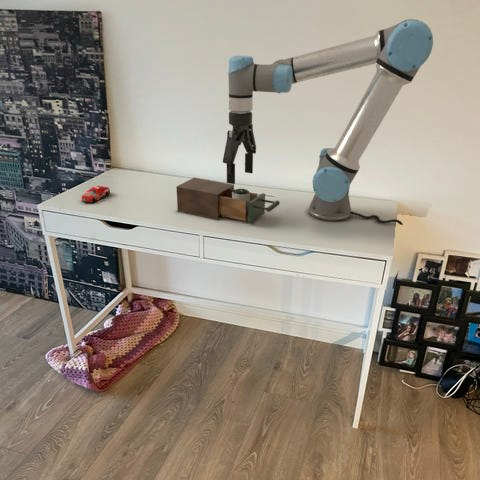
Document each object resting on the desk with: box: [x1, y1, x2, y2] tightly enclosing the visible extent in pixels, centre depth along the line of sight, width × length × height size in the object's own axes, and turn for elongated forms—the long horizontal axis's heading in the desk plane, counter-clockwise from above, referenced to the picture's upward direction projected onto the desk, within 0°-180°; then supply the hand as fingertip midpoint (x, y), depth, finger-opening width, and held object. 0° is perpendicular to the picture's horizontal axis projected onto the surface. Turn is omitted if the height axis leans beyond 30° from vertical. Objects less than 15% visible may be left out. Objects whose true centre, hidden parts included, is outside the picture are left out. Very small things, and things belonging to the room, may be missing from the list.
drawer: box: [219, 188, 281, 225], centre depth 170 cm, size 22×11×7 cm, turn 63°
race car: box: [80, 185, 111, 204], centre depth 185 cm, size 13×5×4 cm, turn 153°
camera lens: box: [232, 188, 250, 214], centre depth 170 cm, size 6×6×8 cm
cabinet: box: [176, 177, 235, 221], centre depth 176 cm, size 17×12×9 cm
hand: (240, 177), depth 166 cm, fingers open, 13 cm apart
